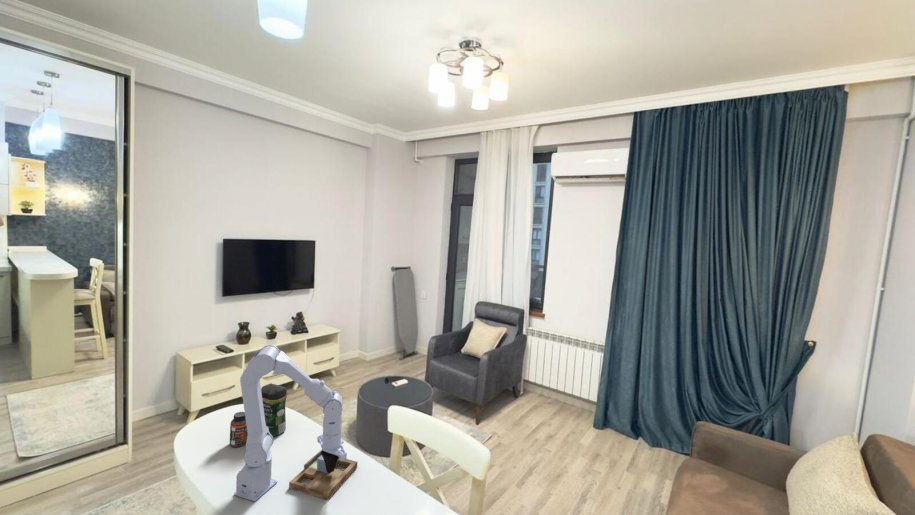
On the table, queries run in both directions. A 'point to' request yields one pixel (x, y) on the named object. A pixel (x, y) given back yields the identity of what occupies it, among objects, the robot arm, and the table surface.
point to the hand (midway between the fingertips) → (330, 471)
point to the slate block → (321, 464)
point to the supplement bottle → (238, 430)
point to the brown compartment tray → (322, 478)
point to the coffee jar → (274, 408)
